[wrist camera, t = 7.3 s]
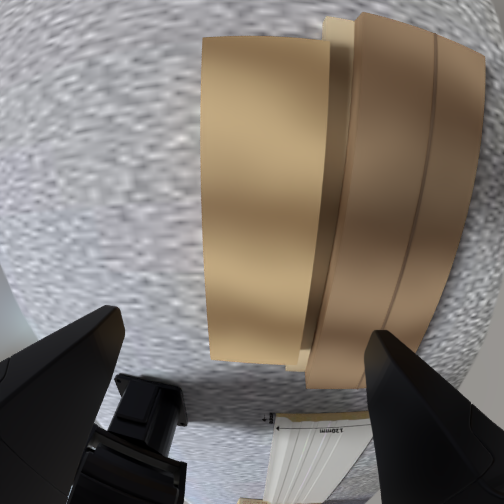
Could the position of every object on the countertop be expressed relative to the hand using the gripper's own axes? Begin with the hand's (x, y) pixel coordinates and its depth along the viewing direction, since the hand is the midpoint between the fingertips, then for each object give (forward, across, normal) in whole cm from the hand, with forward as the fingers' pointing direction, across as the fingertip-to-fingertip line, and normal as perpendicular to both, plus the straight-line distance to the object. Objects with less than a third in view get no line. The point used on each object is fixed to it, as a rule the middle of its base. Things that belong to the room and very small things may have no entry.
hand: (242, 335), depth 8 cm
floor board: (+10, -8, 0) cm, 12 cm away
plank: (+10, 0, 0) cm, 10 cm away
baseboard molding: (+11, -8, +34) cm, 36 cm away
